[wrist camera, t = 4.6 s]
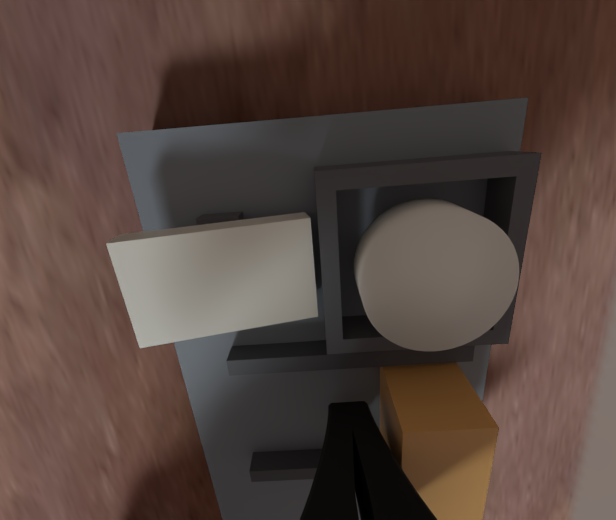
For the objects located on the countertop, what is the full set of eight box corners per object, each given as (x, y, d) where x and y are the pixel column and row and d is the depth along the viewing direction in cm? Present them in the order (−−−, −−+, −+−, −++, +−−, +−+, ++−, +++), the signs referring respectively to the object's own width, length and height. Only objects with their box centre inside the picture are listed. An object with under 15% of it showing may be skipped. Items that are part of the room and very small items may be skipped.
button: (355, 323, 9) (363, 355, 8) (351, 203, 8) (359, 217, 7) (477, 315, 9) (506, 347, 8) (493, 192, 8) (532, 204, 7)
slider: (379, 441, 13) (399, 527, 10) (379, 359, 11) (402, 432, 8) (443, 438, 13) (481, 524, 10) (451, 354, 11) (498, 427, 8)
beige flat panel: (147, 332, 9) (139, 348, 9) (117, 234, 8) (105, 243, 8) (312, 304, 10) (318, 316, 9) (304, 211, 9) (310, 217, 8)
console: (237, 495, 17) (220, 575, 14) (150, 134, 11) (84, 132, 7) (445, 486, 17) (476, 565, 13) (488, 104, 10) (565, 89, 7)
